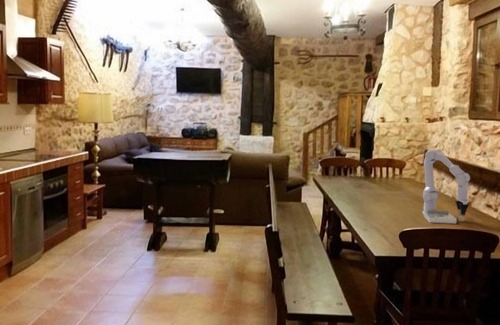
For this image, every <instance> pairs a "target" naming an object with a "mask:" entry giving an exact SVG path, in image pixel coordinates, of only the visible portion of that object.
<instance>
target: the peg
mask: <svg viewBox="0 0 500 325" xmlns="http://www.w3.org/2000/svg"><path fill="white" fill-rule="evenodd" d="M465 215H466V214H465ZM465 215H461V210H460V209H457V221H458V222H465Z"/></svg>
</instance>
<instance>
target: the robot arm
mask: <svg viewBox="0 0 500 325" xmlns="http://www.w3.org/2000/svg"><path fill="white" fill-rule="evenodd" d="M424 154H425V157H424V159H423V167H424V169H423V170H424V181H425V182H424V183H425V188H424V189H423V191H422V192H423V193H422V199H423V201H424V203H423V211H421V213H422V214H423V215H424V212H427V210H436V208H437V205H436V204H437V200H438V199H439V193H438V190H437V188H436V187H435V180H434V178H435V176H434V165H433V164H434V163H435V162H437V161H440V162H442V163H443V164H444V165H445V166H446V167H447V168H448V169H449V172H450V173H451V174H452V175H453V176H454V177H455V179H456V182H457V198H456V200H455V204H456V210H458V209H460V210H461V215H466V212H467V210H468V208H469V206H470V204H469V203H468V202H470V199H469V198H468V195H469V194H468V192H469V191H468V190H469V182H470V181H471V176H470V174H469V173H468V172H465V171H464V170H463V169H461V167H460V165H457V164H454V163H453V162H452V161H451V160H450V159H449V158H448V157H447V156H446V155H445V152H443V151H442V150H441V149H439V148H438V149H437V148H436V149H428V150H427V151H426V152H425V153H424Z"/></svg>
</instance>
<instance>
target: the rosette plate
mask: <svg viewBox="0 0 500 325" xmlns="http://www.w3.org/2000/svg"><path fill="white" fill-rule="evenodd" d="M423 217H424V218H425V219H426V221H427V222H428V223H430V224H434V223H435V224H450V225H451V224H455V225H456V224H457V221H458V218H456V217H455V216H454V215H453V214H451V213H450V211H449V210H436V209H435V210H427V212H424V214H423Z"/></svg>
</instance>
